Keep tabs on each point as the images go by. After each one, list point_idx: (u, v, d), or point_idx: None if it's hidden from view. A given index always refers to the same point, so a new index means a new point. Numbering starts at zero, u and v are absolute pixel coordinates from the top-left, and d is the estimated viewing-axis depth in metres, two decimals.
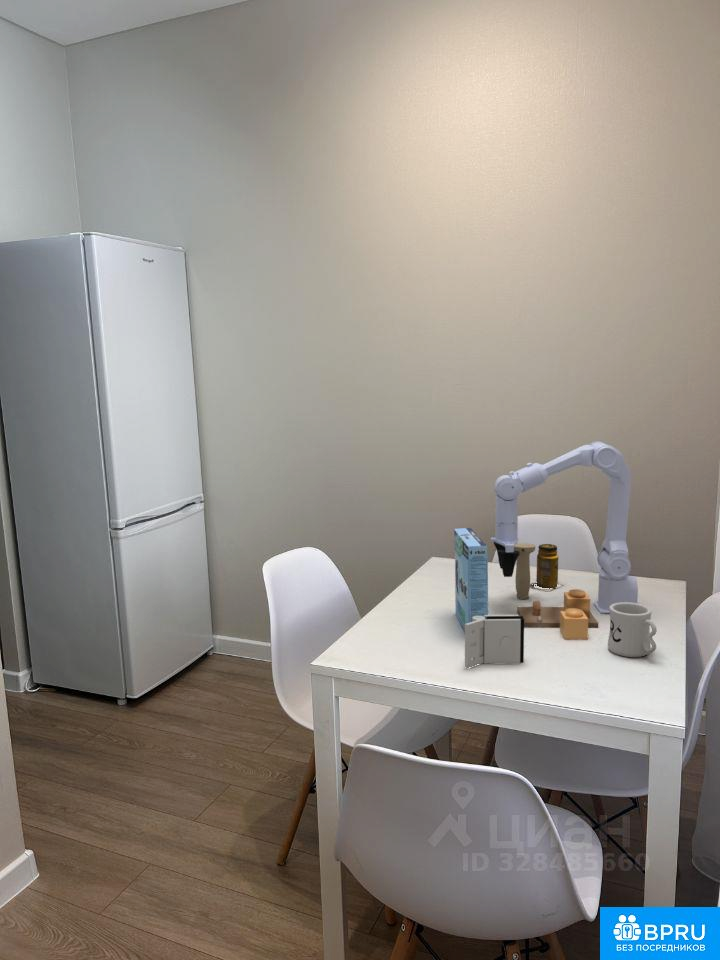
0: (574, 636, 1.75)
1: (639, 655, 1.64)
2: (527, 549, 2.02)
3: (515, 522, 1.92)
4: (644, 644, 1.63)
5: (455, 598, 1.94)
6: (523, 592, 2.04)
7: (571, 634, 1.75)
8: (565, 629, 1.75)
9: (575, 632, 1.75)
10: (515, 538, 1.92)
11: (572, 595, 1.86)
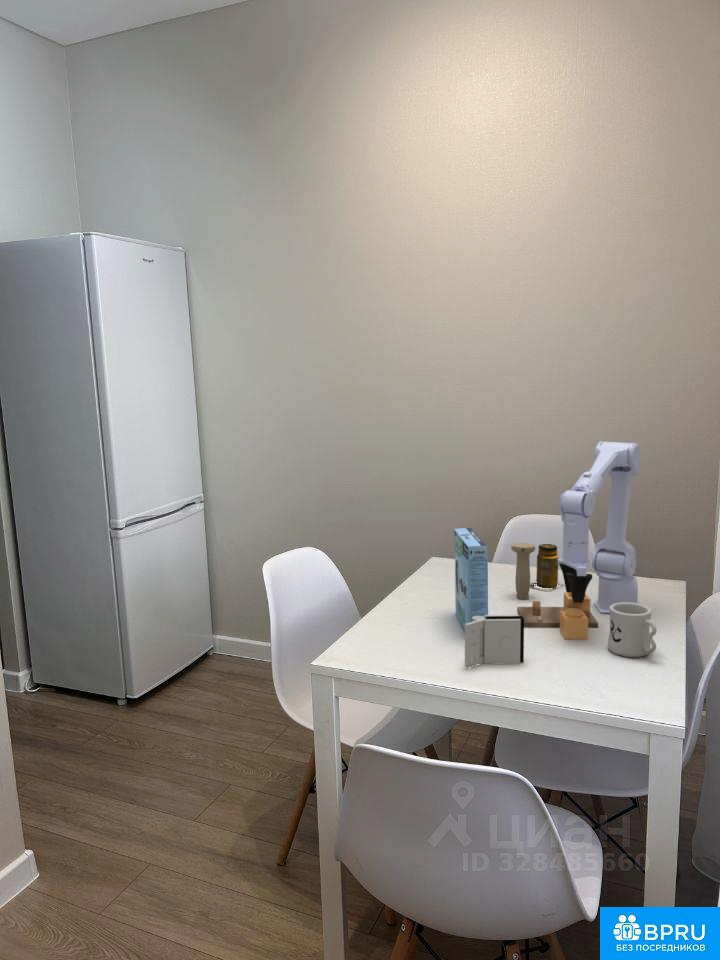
0: (574, 636, 1.75)
1: (639, 655, 1.64)
2: (527, 549, 2.02)
3: None
4: (644, 644, 1.63)
5: (455, 598, 1.94)
6: (523, 592, 2.04)
7: (571, 634, 1.75)
8: (565, 629, 1.75)
9: (575, 632, 1.75)
10: (586, 560, 1.73)
11: None
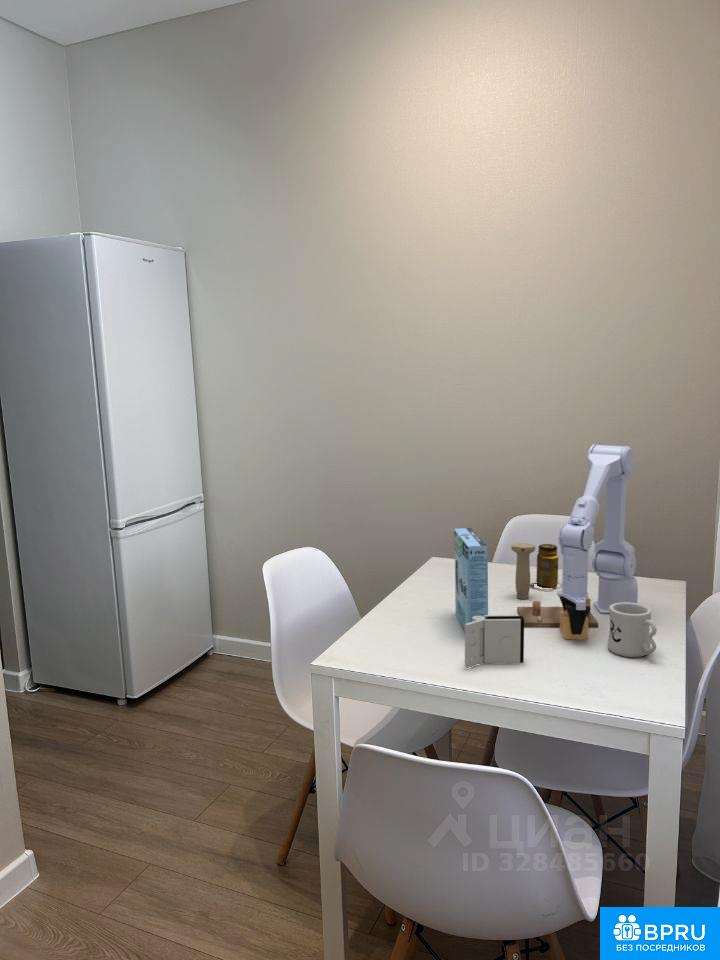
0: (574, 636, 1.75)
1: (639, 655, 1.64)
2: (527, 549, 2.01)
3: None
4: (644, 644, 1.63)
5: (455, 598, 1.94)
6: (523, 592, 2.04)
7: (571, 634, 1.75)
8: (565, 629, 1.75)
9: None
10: (585, 593, 1.74)
11: None
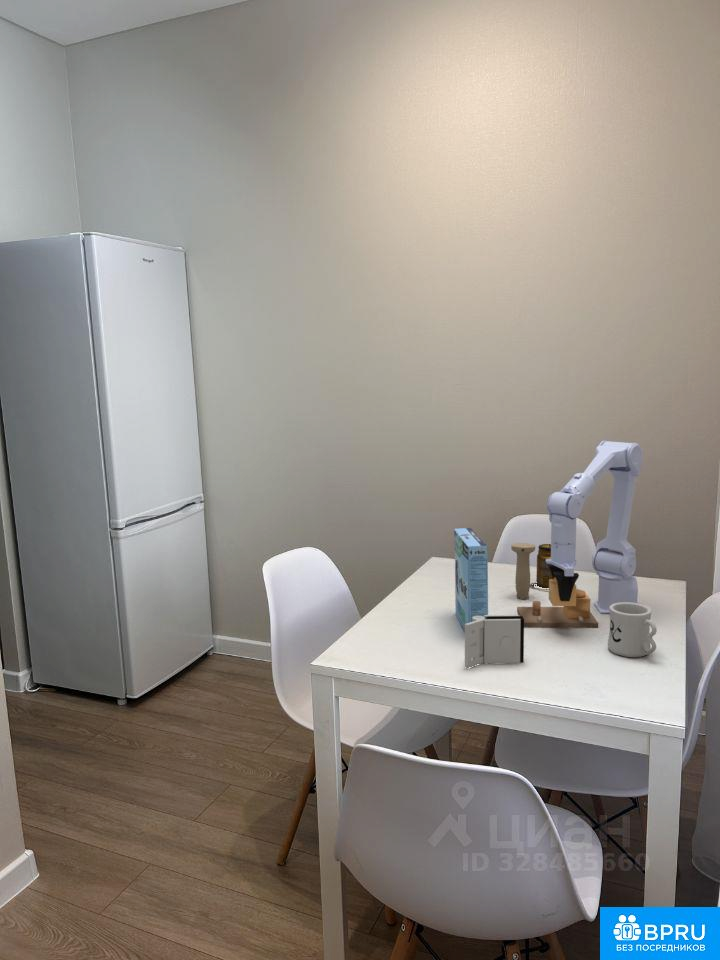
0: (563, 603, 1.78)
1: (639, 655, 1.64)
2: (527, 549, 2.02)
3: None
4: (644, 644, 1.63)
5: (455, 598, 1.94)
6: (523, 592, 2.04)
7: (560, 601, 1.78)
8: (554, 596, 1.78)
9: None
10: (573, 560, 1.77)
11: None
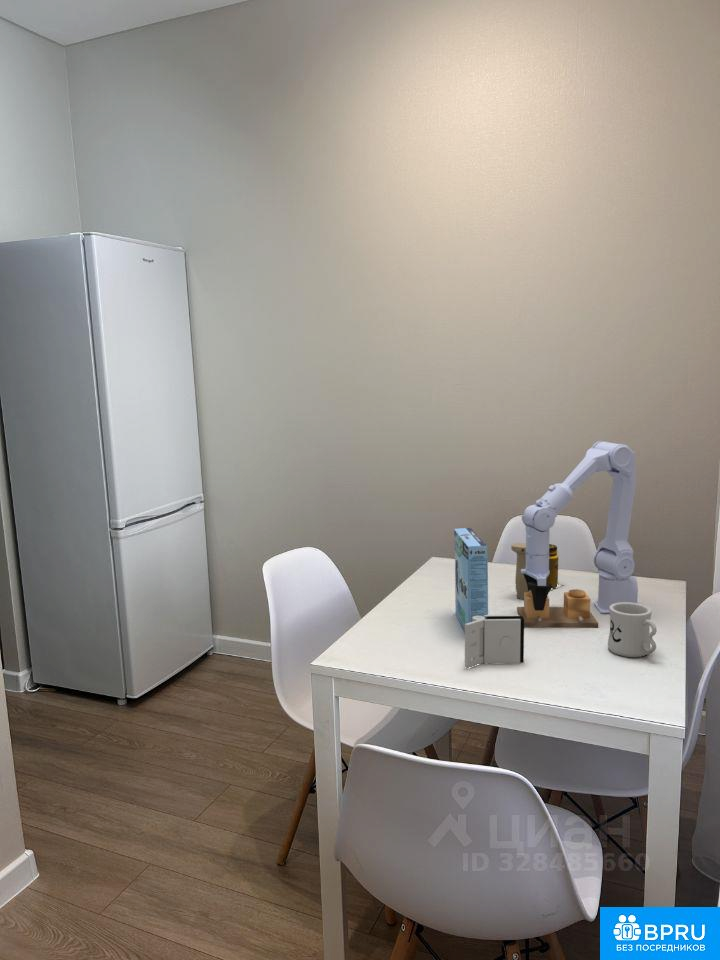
0: (536, 615, 1.87)
1: (639, 655, 1.64)
2: None
3: (548, 553, 1.85)
4: (644, 644, 1.63)
5: (455, 598, 1.94)
6: (523, 592, 2.04)
7: (533, 613, 1.87)
8: (528, 609, 1.86)
9: (537, 612, 1.86)
10: (546, 570, 1.85)
11: (572, 595, 1.86)
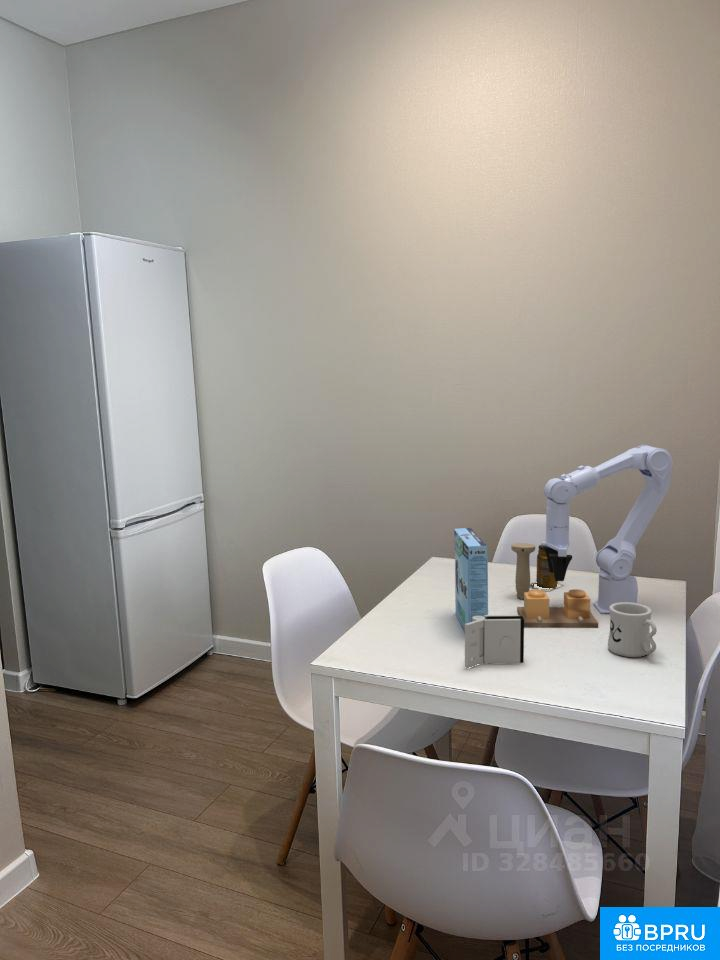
0: (536, 615, 1.87)
1: (639, 655, 1.64)
2: (527, 549, 2.02)
3: (567, 525, 1.89)
4: (644, 644, 1.63)
5: (455, 598, 1.94)
6: (523, 592, 2.04)
7: (533, 613, 1.87)
8: (528, 609, 1.86)
9: (537, 612, 1.86)
10: (567, 542, 1.90)
11: (572, 595, 1.86)
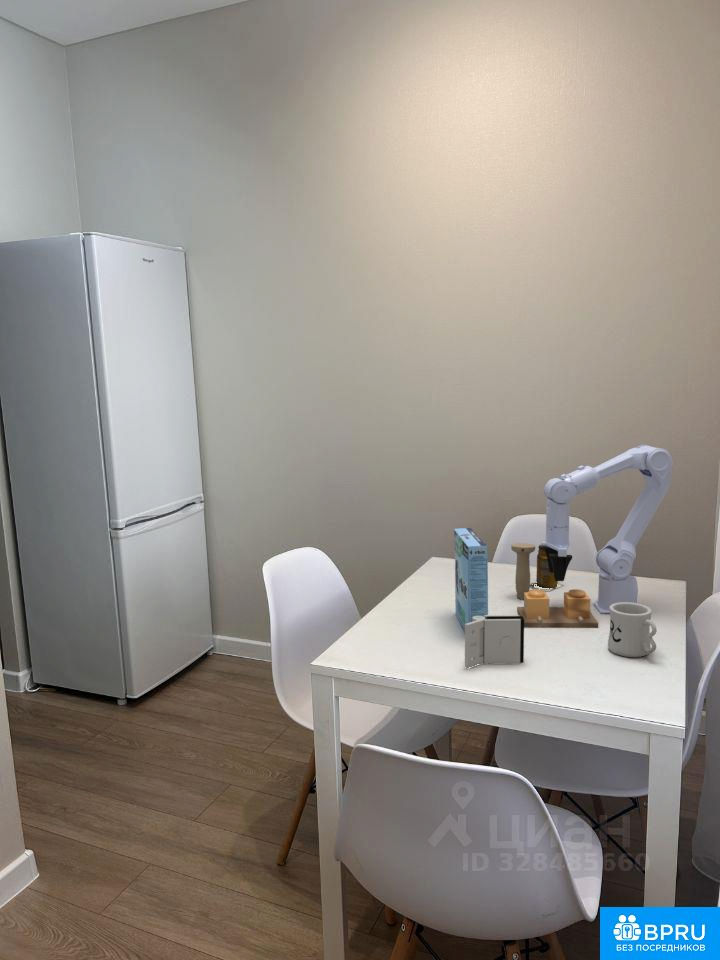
0: (536, 615, 1.87)
1: (639, 655, 1.64)
2: (527, 549, 2.02)
3: (567, 525, 1.89)
4: (644, 644, 1.63)
5: (455, 598, 1.94)
6: (523, 592, 2.04)
7: (533, 613, 1.87)
8: (528, 609, 1.86)
9: (537, 612, 1.86)
10: (567, 542, 1.90)
11: (572, 595, 1.86)
